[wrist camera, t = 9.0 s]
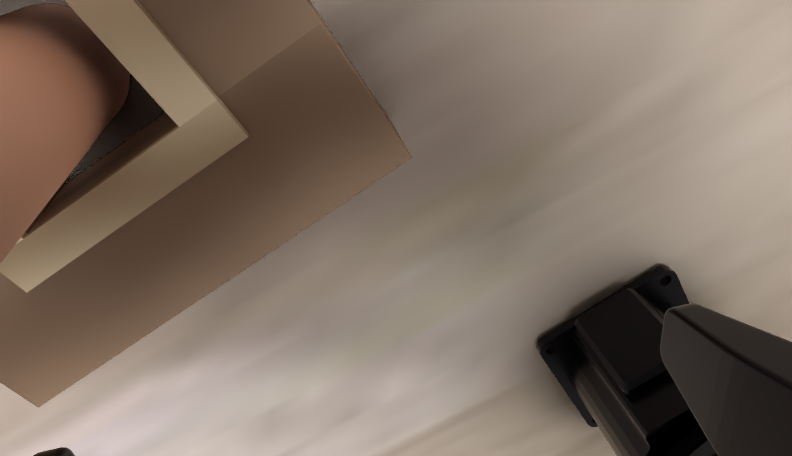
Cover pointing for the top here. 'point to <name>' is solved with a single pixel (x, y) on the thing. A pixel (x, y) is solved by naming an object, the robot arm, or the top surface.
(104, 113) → the peg
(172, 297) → the socket block
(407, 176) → the top surface
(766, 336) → the robot arm
